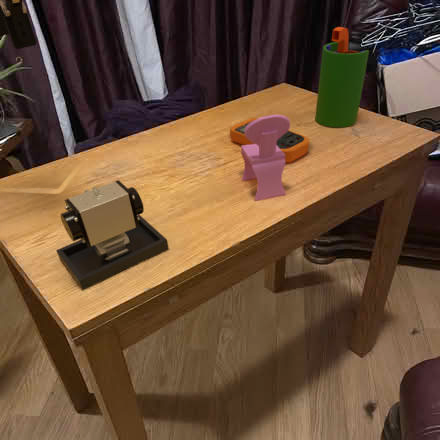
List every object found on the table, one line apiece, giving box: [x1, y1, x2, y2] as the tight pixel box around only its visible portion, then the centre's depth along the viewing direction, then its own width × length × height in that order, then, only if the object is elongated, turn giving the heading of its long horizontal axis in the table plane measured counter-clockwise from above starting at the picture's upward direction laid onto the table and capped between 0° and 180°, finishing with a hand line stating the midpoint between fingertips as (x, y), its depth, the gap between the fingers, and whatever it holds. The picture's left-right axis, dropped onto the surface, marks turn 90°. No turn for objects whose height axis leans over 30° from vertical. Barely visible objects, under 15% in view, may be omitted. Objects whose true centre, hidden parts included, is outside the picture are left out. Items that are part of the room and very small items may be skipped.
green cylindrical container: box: [314, 26, 370, 128], centre depth 97 cm, size 10×9×20 cm
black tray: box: [55, 214, 169, 291], centre depth 71 cm, size 16×10×2 cm, turn 126°
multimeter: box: [229, 117, 310, 163], centre depth 95 cm, size 9×18×3 cm, turn 42°
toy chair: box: [240, 114, 291, 202], centre depth 79 cm, size 8×9×15 cm
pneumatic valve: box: [60, 179, 145, 261], centre depth 67 cm, size 6×12×12 cm, turn 125°
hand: (15, 40), depth 64 cm, fingers open, 9 cm apart
